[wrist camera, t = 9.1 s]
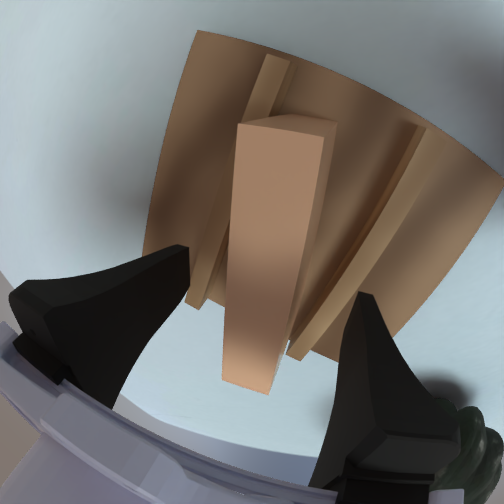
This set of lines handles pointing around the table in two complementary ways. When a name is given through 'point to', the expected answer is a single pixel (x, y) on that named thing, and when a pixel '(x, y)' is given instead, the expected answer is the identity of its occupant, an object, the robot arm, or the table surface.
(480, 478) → the squash
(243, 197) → the clay block
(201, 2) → the table surface
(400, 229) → the ribbed wooden panel
